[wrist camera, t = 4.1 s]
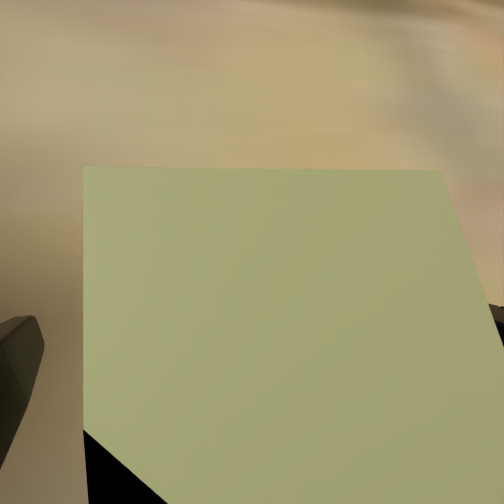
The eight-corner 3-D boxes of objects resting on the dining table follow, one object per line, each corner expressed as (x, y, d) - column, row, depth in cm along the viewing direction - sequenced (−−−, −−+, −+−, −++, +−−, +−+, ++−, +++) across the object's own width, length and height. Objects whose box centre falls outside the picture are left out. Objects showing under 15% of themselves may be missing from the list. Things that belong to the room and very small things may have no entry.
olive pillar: (244, 384, 15) (580, 561, 3) (160, 401, 13) (82, 858, 1) (233, 304, 16) (439, 170, 4) (154, 314, 15) (82, 167, 3)
